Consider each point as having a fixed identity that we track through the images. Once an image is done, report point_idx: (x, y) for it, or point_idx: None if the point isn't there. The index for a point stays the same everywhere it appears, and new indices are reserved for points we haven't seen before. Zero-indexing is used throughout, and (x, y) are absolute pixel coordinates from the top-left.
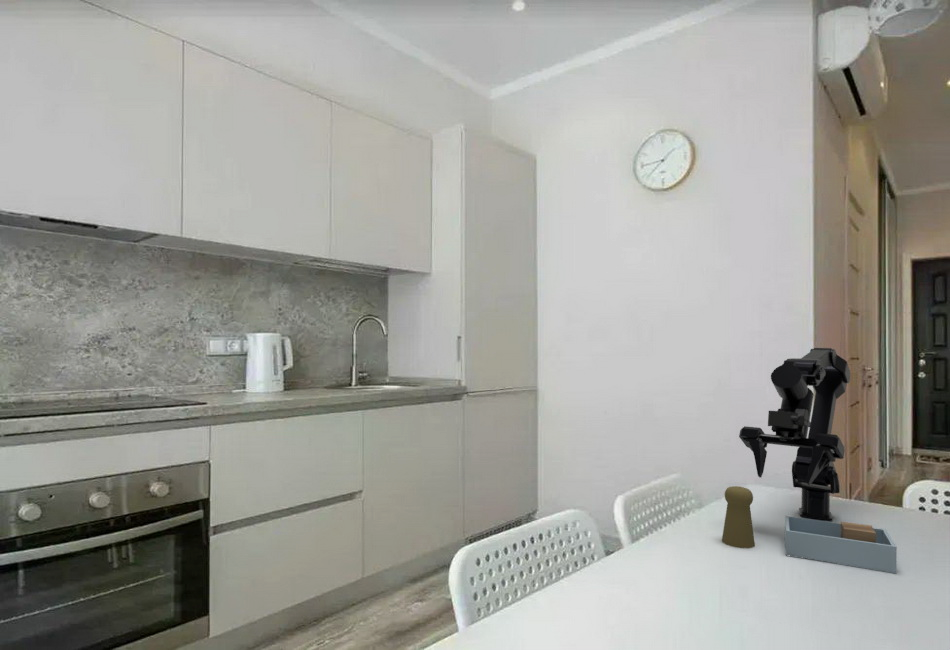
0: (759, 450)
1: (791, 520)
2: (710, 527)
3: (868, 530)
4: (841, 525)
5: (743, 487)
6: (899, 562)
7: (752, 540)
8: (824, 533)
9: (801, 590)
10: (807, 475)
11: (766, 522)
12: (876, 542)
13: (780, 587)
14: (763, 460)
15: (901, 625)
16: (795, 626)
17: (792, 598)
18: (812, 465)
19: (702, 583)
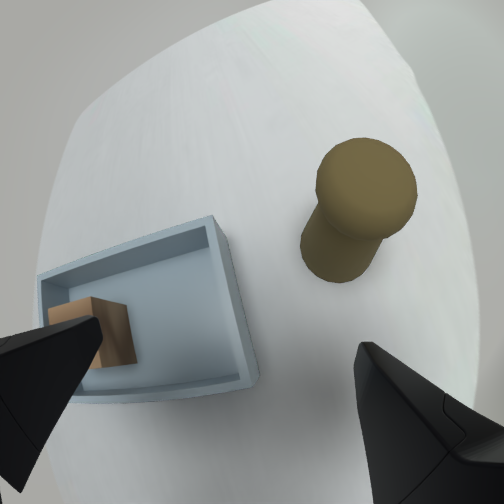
0: (460, 453)
1: (233, 379)
2: (427, 314)
3: (56, 320)
4: (102, 352)
5: (368, 191)
6: None
7: (303, 236)
8: (161, 387)
9: (181, 110)
10: (72, 327)
11: (332, 471)
12: (81, 392)
13: (206, 100)
14: (385, 473)
15: (97, 116)
16: (183, 52)
17: (189, 87)
18: (15, 342)
19: (289, 58)
